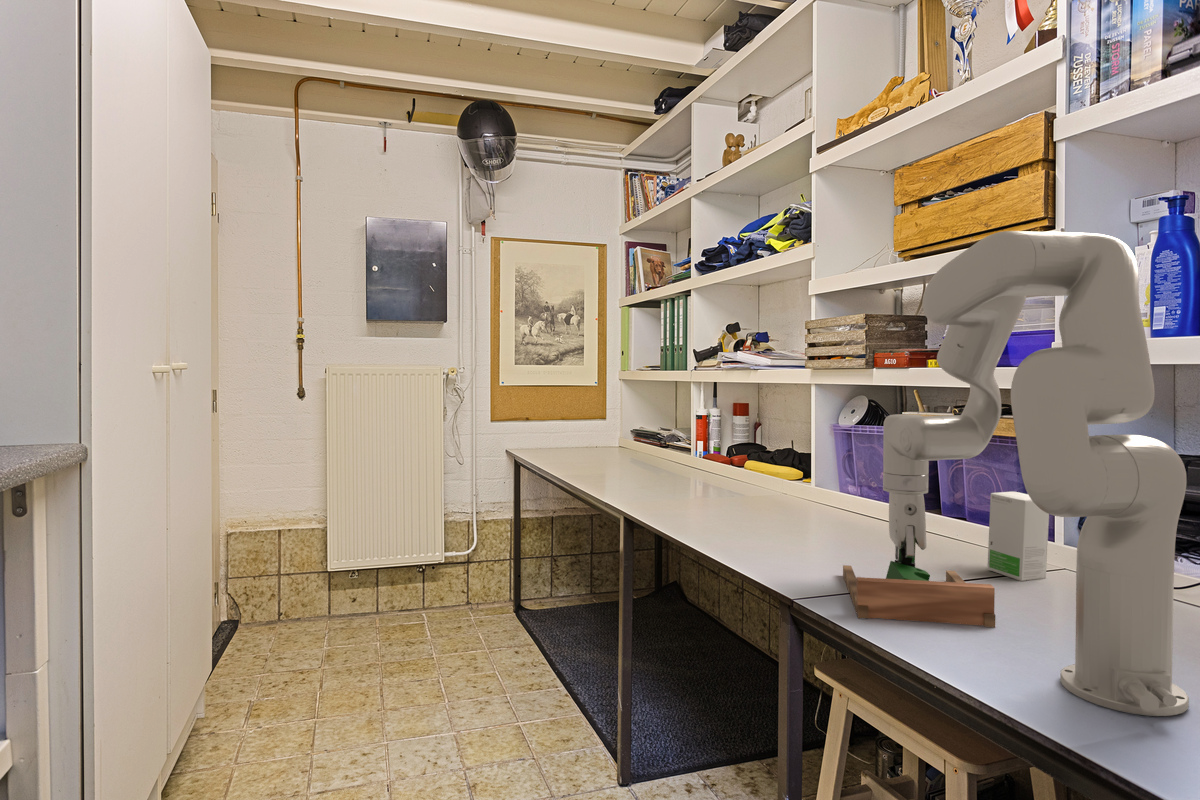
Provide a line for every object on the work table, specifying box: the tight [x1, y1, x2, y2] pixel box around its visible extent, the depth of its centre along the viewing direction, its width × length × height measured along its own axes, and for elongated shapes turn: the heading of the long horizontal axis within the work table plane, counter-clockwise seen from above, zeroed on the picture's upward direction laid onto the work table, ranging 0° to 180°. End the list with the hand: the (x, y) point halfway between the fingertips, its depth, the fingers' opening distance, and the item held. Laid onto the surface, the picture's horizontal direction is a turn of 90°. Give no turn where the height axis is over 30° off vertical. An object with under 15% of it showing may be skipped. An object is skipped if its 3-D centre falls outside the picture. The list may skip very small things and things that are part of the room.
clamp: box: [885, 560, 931, 581], centre depth 121 cm, size 12×6×9 cm, turn 162°
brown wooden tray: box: [842, 564, 996, 628], centre depth 124 cm, size 25×20×6 cm
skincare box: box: [986, 491, 1050, 582], centre depth 137 cm, size 8×7×16 cm
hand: (904, 583), depth 128 cm, fingers closed
